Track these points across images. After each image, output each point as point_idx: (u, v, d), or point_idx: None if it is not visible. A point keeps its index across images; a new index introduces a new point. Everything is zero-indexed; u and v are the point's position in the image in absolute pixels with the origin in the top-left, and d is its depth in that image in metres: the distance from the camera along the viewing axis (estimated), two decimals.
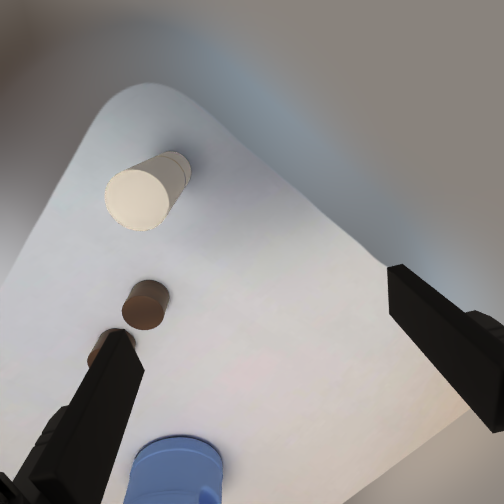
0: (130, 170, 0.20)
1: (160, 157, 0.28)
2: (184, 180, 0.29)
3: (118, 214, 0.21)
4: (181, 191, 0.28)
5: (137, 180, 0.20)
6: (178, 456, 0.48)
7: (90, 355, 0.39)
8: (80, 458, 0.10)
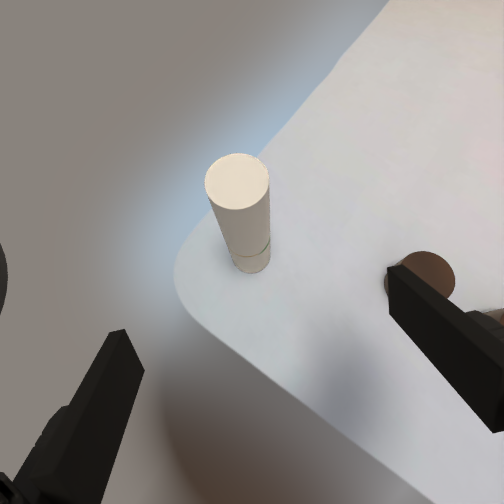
0: (205, 184, 0.20)
1: None
2: None
3: (251, 198, 0.19)
4: None
5: (215, 179, 0.20)
6: None
7: None
8: (80, 458, 0.10)
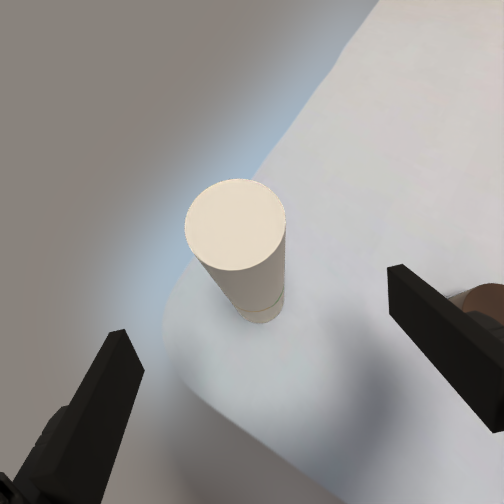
0: (186, 232, 0.13)
1: None
2: None
3: (260, 249, 0.12)
4: None
5: (200, 222, 0.13)
6: None
7: None
8: (80, 458, 0.10)
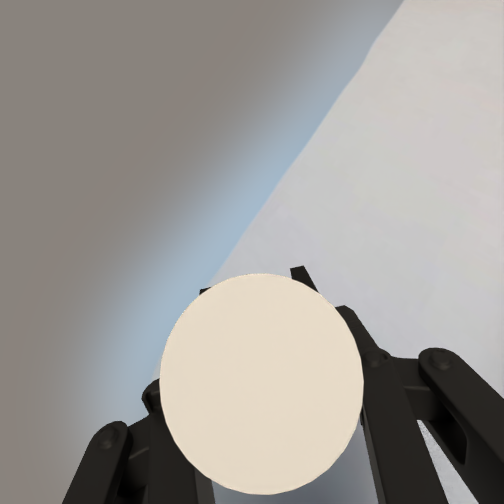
0: (163, 389, 0.06)
1: None
2: None
3: (313, 443, 0.06)
4: None
5: (191, 367, 0.07)
6: None
7: None
8: None
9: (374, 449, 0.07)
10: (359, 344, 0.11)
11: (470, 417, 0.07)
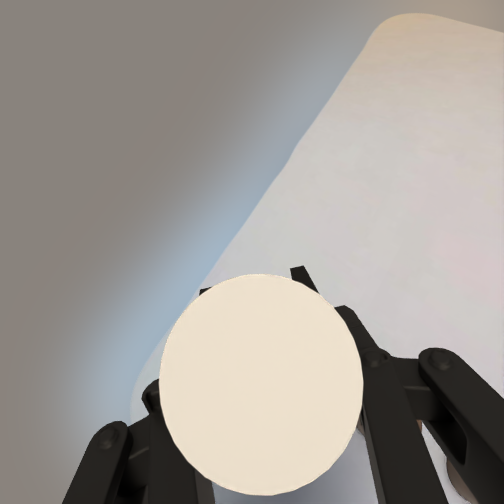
0: (162, 390, 0.06)
1: None
2: None
3: (313, 444, 0.06)
4: None
5: (191, 368, 0.07)
6: None
7: None
8: None
9: (374, 449, 0.07)
10: (359, 344, 0.11)
11: (470, 417, 0.07)
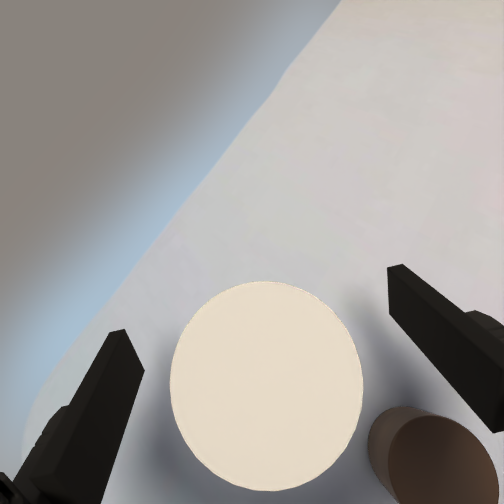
0: (173, 392, 0.07)
1: None
2: None
3: (315, 442, 0.06)
4: None
5: (200, 371, 0.07)
6: None
7: None
8: (80, 458, 0.10)
9: None
10: None
11: None
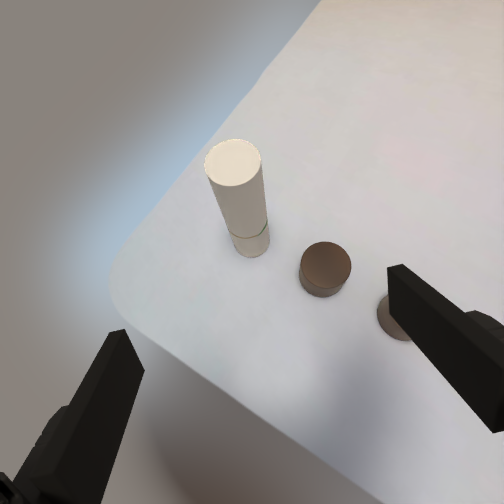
0: (205, 167, 0.23)
1: None
2: None
3: (246, 175, 0.22)
4: None
5: (213, 162, 0.23)
6: None
7: None
8: (80, 458, 0.10)
9: None
10: None
11: None
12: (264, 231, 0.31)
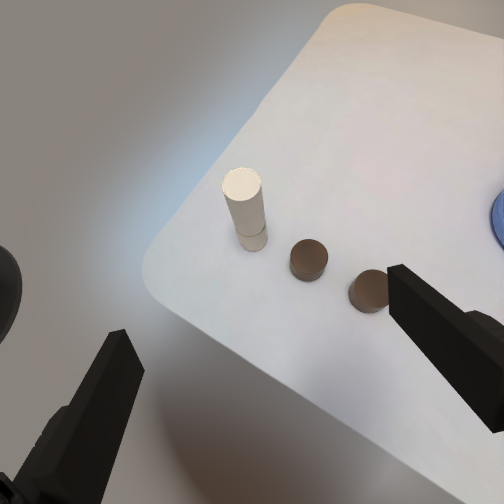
0: (222, 187, 0.33)
1: None
2: None
3: (250, 193, 0.32)
4: None
5: (228, 184, 0.33)
6: None
7: (367, 303, 0.38)
8: (80, 458, 0.10)
9: None
10: None
11: None
12: (263, 231, 0.42)
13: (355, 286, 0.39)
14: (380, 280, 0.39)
